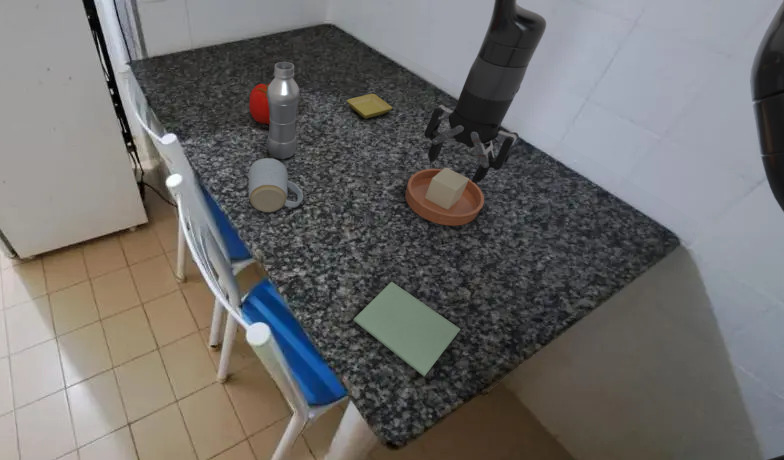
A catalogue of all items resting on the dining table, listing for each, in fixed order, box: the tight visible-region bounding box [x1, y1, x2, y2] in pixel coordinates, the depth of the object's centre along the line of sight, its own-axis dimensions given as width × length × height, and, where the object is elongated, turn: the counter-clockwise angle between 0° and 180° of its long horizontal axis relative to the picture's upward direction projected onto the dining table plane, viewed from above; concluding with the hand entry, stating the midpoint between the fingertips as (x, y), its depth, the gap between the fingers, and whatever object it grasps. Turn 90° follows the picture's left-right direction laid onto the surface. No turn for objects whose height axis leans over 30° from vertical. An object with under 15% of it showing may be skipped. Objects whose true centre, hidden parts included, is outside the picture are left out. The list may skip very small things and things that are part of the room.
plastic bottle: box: [266, 61, 301, 160], centre depth 81 cm, size 6×7×20 cm
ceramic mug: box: [248, 157, 304, 213], centre depth 74 cm, size 11×8×8 cm
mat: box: [353, 281, 461, 377], centre depth 58 cm, size 12×10×1 cm
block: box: [425, 167, 470, 210], centre depth 75 cm, size 5×5×5 cm
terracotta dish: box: [404, 168, 485, 227], centre depth 77 cm, size 14×14×2 cm
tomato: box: [248, 83, 270, 126], centre depth 95 cm, size 11×11×9 cm
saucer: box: [346, 93, 393, 120], centre depth 101 cm, size 9×9×2 cm
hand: (453, 170), depth 72 cm, fingers open, 8 cm apart
